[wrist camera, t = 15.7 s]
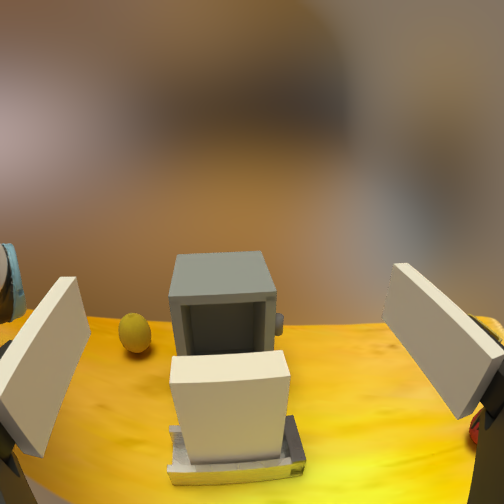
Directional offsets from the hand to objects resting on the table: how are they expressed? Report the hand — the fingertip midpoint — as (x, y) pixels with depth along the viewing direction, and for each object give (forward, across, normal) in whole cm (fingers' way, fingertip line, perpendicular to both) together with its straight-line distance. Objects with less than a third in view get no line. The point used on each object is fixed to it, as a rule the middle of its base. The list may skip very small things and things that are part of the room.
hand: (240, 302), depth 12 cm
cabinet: (+26, 0, -29) cm, 39 cm away
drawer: (+10, 0, -29) cm, 31 cm away
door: (+10, 0, -29) cm, 30 cm away
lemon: (+32, -15, -30) cm, 46 cm away
